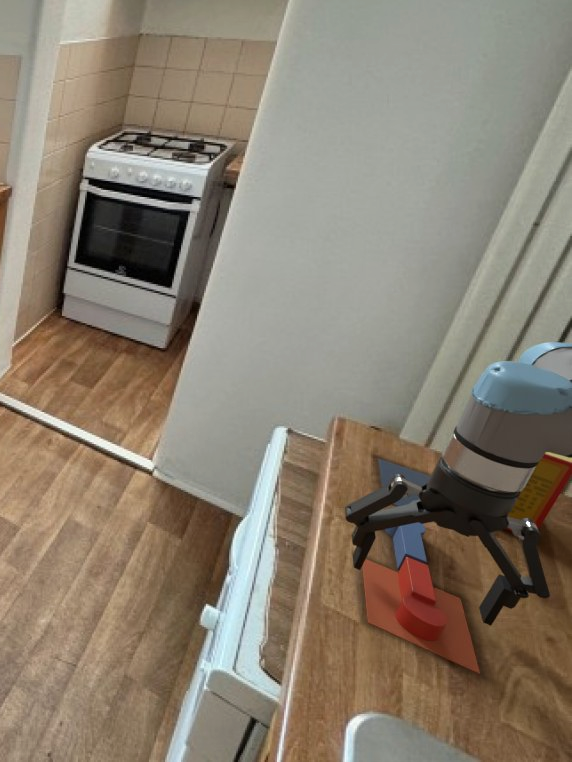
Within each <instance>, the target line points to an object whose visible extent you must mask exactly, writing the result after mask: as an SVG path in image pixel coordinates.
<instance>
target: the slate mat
mask: <svg viewBox="0 0 572 762" xmlns="http://www.w3.org/2000/svg"><path fill="white" fill-rule="evenodd" d="M377 462H378V469H379V475H380V481H381V487H383V486H385V485H387V484H388V483H389V482H390V481H391V479H392V478H393V476H394V475H395V474H401V475H403V476H404V477H405V478H406V481H409V482H411V483H413V484H416V485H418V486H420V487H421V486H423V485H425V484H426V483H427V482H428V480H429V478H430V476H431V475H429V474H426V473H423V472H420V471H416V470H414V469H411V468H407V467H405V466H401V465H399V464H397V463H393V462H390V461H387V460H384V459H381V458H377ZM418 499H420V498H419V496H417V495H411V496H409V497H408V498H404V497H402V498H401V499H400V500H399V501H397V502H395V503H393V504H392V505H393V506H394V507H397V506H402V505H406V504H409V503H410V502H411V501H414V500H418ZM423 512H426V510H425V509H424V510H423Z"/></svg>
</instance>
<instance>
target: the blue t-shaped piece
mask: <svg viewBox="0 0 572 762" xmlns="http://www.w3.org/2000/svg"><path fill="white" fill-rule="evenodd" d="M384 531H385V532H386V533H387V534H388V535H389V536H390V537H391V538H392V543H393V548H394V549H393V550H394V555H395V561H396V566H397V567H396V568H397V569H398V570H400V568H401V567H402V565H403V563H404V561H405V559H406V557H408V558H411V559H413V560H416V561H418V562H421V563H423V564H426V565H427V563H428V561H427V555H426V552H425V547H424V542H423V537H424V536H425V533H426V531H427V529H426V526H425V524H421V523H418V522H417V523H412V524H407V525H403V526H398V527H393V528H388V529H384Z"/></svg>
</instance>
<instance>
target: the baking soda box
mask: <svg viewBox="0 0 572 762" xmlns="http://www.w3.org/2000/svg"><path fill="white" fill-rule="evenodd" d="M571 477H572V458H569V457H565V456H561V455H558V454H554V453H550V452H546V453H545V454H544V455H543V457H542V458H541V460H540V461H539V463H538V465H537V466H536V467H535V469H534V471H533V473H532V475H531V477H530V478H529V480H528V482H527V484H526V486H525V488H524V489H523V490H522V491H520V496H519V498H518V499H517V501H516V503H515V504H514V506H513V508H512V510H511V511H510V513H509V514H508V515H507V517H510V518H514V519H517V520H522V519H523V518H529V519H532V520H533V521H534V522H535V524H536V526H537V528H538V530H539V529H540V527H541V526H542V524H543V523H544V521H545V519H546V518H547V516H548V515H549V513H550V511H551V510H552V508H553V506H554V504H555V503H556V501H557V500H558V498H559V497H560V495H561V493H562V492H563V490H564V489H565V487H566V485H567V483H568V482H569V480H570V478H571ZM505 530H507V531H510V532H512V530H511V529H510V528H508V527H507V528H506V529H505Z"/></svg>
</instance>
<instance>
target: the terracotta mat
mask: <svg viewBox="0 0 572 762" xmlns="http://www.w3.org/2000/svg"><path fill="white" fill-rule="evenodd" d="M361 569H362V578H363V586H364V596H365V608H366V616H367V624H370V625H372V626H374V627H376V628H379V629H380V630H383V631H385V632H386V633H390V635H391V634H392V635H394V636H396V637H398V638H400V639H402V640H404V641H407V642H409V643H411V644H413V645H415V646H416V647H417V646H418V647H420V648H422V649H424V650H425V651H429V652H431V653H433V654H435V655H437V656H439V657H441V658H443V659H446V660H448V661H450V662H453V663H454V664H456V665H458V666H461V667H463V668H465V669H468V670H470V671H472V672H474V673H476V674H479V675H481V671H480V668H479V664H478V660H477V657H476V652H475V648H474V645H473V640H472V636H471V634H470V629H469V626H468V620H467V618H466V614H465V610H464V606H463V603H462V599H461V597H458V596H455V595H454V594H451V593H448V592H446V591H444V590H442V589H439V588H436V587H434V586H433V589H434V594H435V599H436V602H435V604H434V605H435V606H436V607H437V608H439V609H440V610H441V611H442V612H443V614H444V615H445V616H446V618H447V624H446V626H445V628H444V630H443V631H442V633H441V635H440V637H439V638H438V640H436V641H426V640H423V639H420V638H418V637H416V636H414V635H412V634H411V633H409V632H408V631H407V630H405V629H404V628H403V627H402V626H401V625H400V624H399V622H398V621H397V619H396V616H395V614H396V611H397V610H398V608H399V606H400V604H401V602H402V598H401V591H400V585H399V579H398V572H399V571H396V570H393V569H391V568H389V567H386V566H384V565H381V564H379V563H376V562H374V561H371V560H369V559H367V558H366V559H365V561H364V563H363V565H362V568H361Z"/></svg>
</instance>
